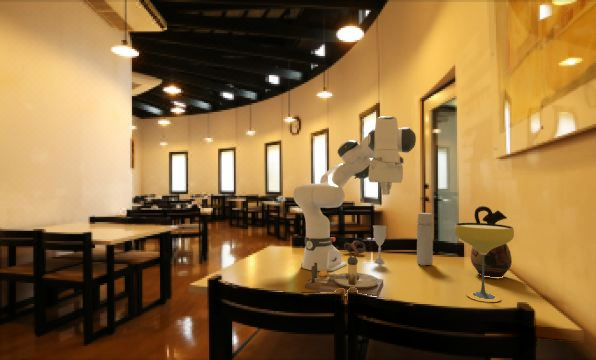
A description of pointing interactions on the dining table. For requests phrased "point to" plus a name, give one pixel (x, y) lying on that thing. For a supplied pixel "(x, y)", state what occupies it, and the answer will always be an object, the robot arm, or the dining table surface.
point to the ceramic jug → (497, 257)
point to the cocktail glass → (484, 242)
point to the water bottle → (425, 239)
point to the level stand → (330, 285)
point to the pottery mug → (355, 247)
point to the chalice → (379, 240)
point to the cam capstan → (352, 277)
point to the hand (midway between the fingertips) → (385, 194)
